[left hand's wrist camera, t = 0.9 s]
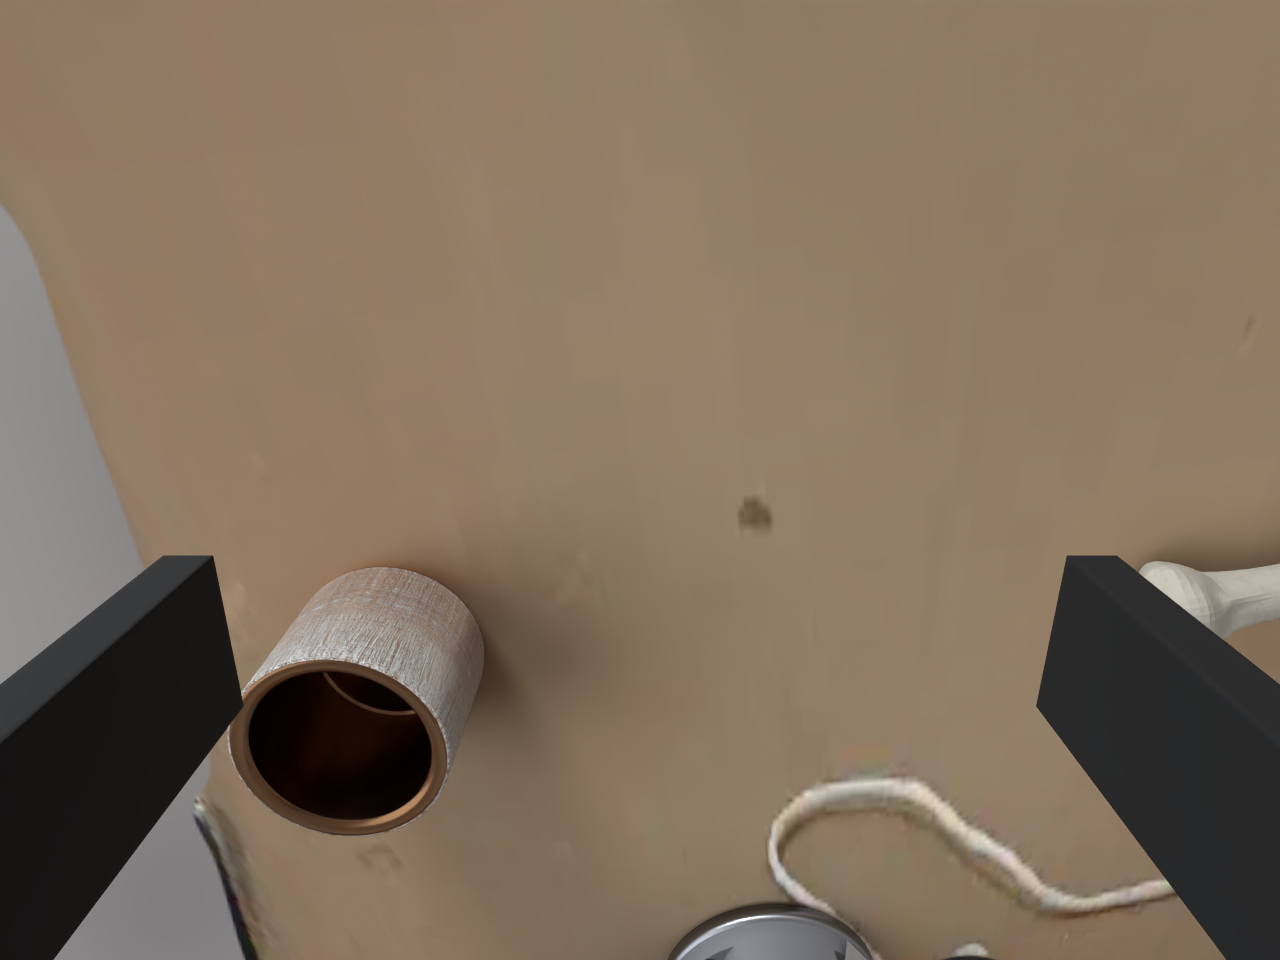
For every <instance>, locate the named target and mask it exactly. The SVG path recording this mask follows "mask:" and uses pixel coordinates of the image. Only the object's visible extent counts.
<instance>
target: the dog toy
mask: <svg viewBox="0 0 1280 960" xmlns="http://www.w3.org/2000/svg"><path fill="white" fill-rule="evenodd" d="M1139 574H1141V575H1142V576H1143V577H1144V578H1146V579H1147V580H1148V581H1149V582H1151V583H1152V584H1153V585H1154V586H1156V587H1157V588H1158V589H1160V590H1161V591H1162V592H1163V593H1165V594H1166V595H1167V596H1168V597H1170V598H1171V599H1172V600H1173V601H1175V602H1176V603H1177V604H1178V605H1180V606H1181V607H1182V608H1184V609H1185V610H1186V611H1187V612H1189V613H1190V614H1191V615H1192V616H1194V617H1195V618H1196V619H1197V620H1199V621H1200V622H1201V623H1202V624H1204V625H1205V626H1206V627H1208V628H1209V629H1210V630H1211V631H1213V632H1214V633H1215V634H1216V635H1218V636H1219V637H1220V638H1221V639H1226V638H1228V637H1230V636H1231V635H1232V634H1233V633H1234V632H1235V631H1237V630H1239V629H1242V628H1244V627H1247V626H1250V625H1253V624H1257V623H1261V622H1265V621H1269V620H1274V619H1279V618H1280V564H1275V565H1269V566H1264V567H1258V568H1252V569H1244V570H1233V571H1219V572H1200V571H1197V570H1194V569H1192V568H1189V567H1186V566H1183V565H1180V564H1175V563H1170V562H1161V561H1155V562H1149V563H1146V564H1145V565H1144V566H1143V567H1142V568H1141V570H1140V571H1139Z"/></svg>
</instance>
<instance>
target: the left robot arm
mask: <svg viewBox="0 0 1280 960" xmlns="http://www.w3.org/2000/svg"><path fill="white" fill-rule="evenodd" d="M243 707H244V705H243V700H242V695H241V690H240V685H239V680H238V675H237V670H236V666H235V661H234V656H233V651H232V646H231V641H230V636H229V631H228V626H227V621H226V616H225V612H224V607H223V602H222V597H221V592H220V587H219V582H218V577H217V572H216V567H215V562H214V558H213V556H162V557H161V558H160V559H158V560H157V561H156V562H155V563H153V564H152V565H151V566H150V567H148V568H147V569H146V570H144V571H143V572H142V573H141V574H139V575H138V576H137V577H136V578H134V579H133V580H132V581H131V582H129V583H128V584H127V585H126V586H124V587H123V588H122V589H120V590H119V591H118V592H117V593H115V594H114V595H113V596H112V597H110V598H109V599H108V600H107V601H105V602H104V603H103V604H102V605H100V606H99V607H98V608H96V609H95V610H94V611H93V612H91V613H90V614H89V615H88V616H86V617H85V618H84V619H83V620H81V621H80V622H79V623H78V624H76V625H75V626H74V627H72V628H71V629H70V630H69V631H67V632H66V633H65V634H64V635H62V636H61V637H60V638H59V639H57V640H56V641H55V642H54V643H52V644H51V645H50V646H48V647H47V648H46V649H45V650H43V651H42V652H41V653H40V654H38V655H37V656H36V657H35V658H33V659H32V660H31V661H29V662H28V663H27V664H26V665H24V666H23V667H22V668H21V669H19V670H18V671H17V672H16V673H14V674H13V675H12V676H11V677H9V678H8V679H7V680H6V681H4V682H3V683H2V684H0V960H54V958H55V957H56V956H57V954H58V953H59V952H60V950H61V949H62V948H63V946H64V945H65V944H66V942H67V941H68V940H69V938H70V937H71V936H72V934H73V933H74V932H75V930H76V929H77V928H78V926H79V925H80V924H81V922H82V921H83V920H84V918H85V917H86V916H87V914H88V913H89V912H90V910H91V909H92V908H93V906H94V905H95V904H96V902H97V901H98V900H99V898H100V897H101V896H102V894H103V893H104V892H105V890H106V889H107V888H108V886H109V885H110V884H111V882H112V881H113V880H114V878H115V877H116V876H117V874H118V873H119V872H120V870H121V869H122V868H123V866H124V865H125V864H126V862H127V861H128V860H129V858H130V857H131V856H132V854H133V853H134V852H135V850H136V849H137V848H138V846H139V845H140V844H141V842H142V841H143V840H144V838H145V837H146V836H147V834H148V833H149V832H150V830H151V829H152V828H153V826H154V825H155V824H156V822H157V821H158V820H159V818H160V817H161V816H162V814H163V813H164V812H165V810H166V809H167V808H168V806H169V805H170V804H171V802H172V801H173V800H174V798H175V797H176V796H177V794H178V793H179V792H180V790H181V789H182V788H183V786H184V785H185V784H186V782H187V781H188V780H189V778H190V777H191V776H192V774H193V773H194V772H195V770H196V769H197V768H198V766H199V765H200V764H201V762H202V761H203V760H204V758H205V757H206V756H207V754H208V753H209V752H210V751H211V749H212V748H213V747H214V745H215V744H216V743H217V741H218V740H219V739H220V737H221V736H222V735H223V733H224V732H225V731H226V729H227V728H228V727H229V725H230V724H231V723H232V721H233V720H234V719H235V717H236V716H237V715H238V713H239V712H240V711H241V709H242V708H243ZM1036 707H1037V708H1038V709H1039V711H1040V712H1041V713H1042V715H1043V716H1044V717H1045V719H1046V720H1047V721H1048V723H1049V724H1050V725H1051V727H1052V728H1053V729H1054V731H1055V732H1056V733H1057V735H1058V736H1059V737H1060V739H1061V740H1062V741H1063V743H1064V744H1065V745H1066V747H1067V748H1068V749H1069V751H1070V752H1071V753H1072V754H1073V756H1074V757H1075V758H1076V760H1077V761H1078V762H1079V764H1080V765H1081V766H1082V768H1083V769H1084V770H1085V772H1086V773H1087V774H1088V776H1089V777H1090V778H1091V780H1092V781H1093V782H1094V784H1095V785H1096V786H1097V788H1098V789H1099V790H1100V792H1101V793H1102V794H1103V796H1104V797H1105V798H1106V800H1107V801H1108V802H1109V804H1110V805H1111V806H1112V808H1113V809H1114V810H1115V812H1116V813H1117V814H1118V816H1119V817H1120V818H1121V820H1122V821H1123V822H1124V824H1125V825H1126V826H1127V828H1128V829H1129V830H1130V832H1131V833H1132V834H1133V836H1134V837H1135V838H1136V840H1137V841H1138V842H1139V844H1140V845H1141V846H1142V848H1143V849H1144V850H1145V852H1146V853H1147V854H1148V856H1149V857H1150V858H1151V860H1152V861H1153V862H1154V864H1155V865H1156V866H1157V868H1158V869H1159V870H1160V872H1161V873H1162V874H1163V876H1164V877H1165V878H1166V880H1167V881H1168V882H1169V884H1170V885H1171V886H1172V888H1173V889H1174V890H1175V892H1176V893H1177V894H1178V896H1179V897H1180V898H1181V900H1182V901H1183V902H1184V904H1185V905H1186V906H1187V908H1188V909H1189V910H1190V912H1191V913H1192V914H1193V916H1194V917H1195V918H1196V920H1197V921H1198V922H1199V924H1200V925H1201V926H1202V928H1203V929H1204V930H1205V932H1206V933H1207V934H1208V936H1209V937H1210V938H1211V940H1212V941H1213V942H1214V944H1215V945H1216V946H1217V948H1218V949H1219V950H1220V952H1221V953H1222V954H1223V956H1224V957H1225V958H1226V960H1280V684H1278V683H1277V682H1276V681H1275V680H1273V679H1272V678H1271V677H1269V676H1268V675H1267V674H1266V673H1264V672H1263V671H1262V670H1261V669H1259V668H1258V667H1257V666H1256V665H1254V664H1253V663H1252V662H1251V661H1249V660H1248V659H1247V658H1245V657H1244V656H1243V655H1242V654H1240V653H1239V652H1238V651H1237V650H1235V649H1234V648H1233V647H1232V646H1230V645H1229V644H1228V643H1227V642H1225V641H1224V640H1223V639H1221V638H1220V637H1219V636H1218V635H1216V634H1215V633H1214V632H1213V631H1211V630H1210V629H1209V628H1208V627H1206V626H1205V625H1204V624H1202V623H1201V622H1200V621H1199V620H1197V619H1196V618H1195V617H1194V616H1192V615H1191V614H1190V613H1189V612H1187V611H1186V610H1185V609H1184V608H1182V607H1181V606H1180V605H1178V604H1177V603H1176V602H1175V601H1173V600H1172V599H1171V598H1170V597H1168V596H1167V595H1166V594H1165V593H1163V592H1162V591H1161V590H1160V589H1158V588H1157V587H1156V586H1154V585H1153V584H1152V583H1151V582H1149V581H1148V580H1147V579H1146V578H1144V577H1143V576H1142V575H1141V574H1139V573H1138V572H1137V571H1136V570H1134V569H1133V568H1132V567H1130V566H1129V565H1128V564H1127V563H1125V562H1124V561H1123V560H1122V559H1120V558H1119V557H1118V556H1067V558H1066V562H1065V567H1064V572H1063V577H1062V582H1061V587H1060V592H1059V597H1058V602H1057V607H1056V612H1055V616H1054V621H1053V626H1052V631H1051V636H1050V641H1049V646H1048V651H1047V656H1046V661H1045V666H1044V670H1043V675H1042V680H1041V685H1040V690H1039V695H1038V700H1037V705H1036ZM668 960H873V959H872V956H871V954H870V952H869V950H868V948H867V947H866V945H865V943H864V942H863V941H862V940H861V938H860V937H859V936H858V935H857V934H856V933H855V932H854V931H853V930H852V929H850V928H849V927H848V926H846V925H845V924H843V923H842V922H840V921H839V920H837V919H835V918H833V917H831V916H829V915H826V914H824V913H822V912H819V911H815V910H812V909H808V908H804V907H799V906H792V905H757V906H750V907H744V908H740V909H736V910H732V911H729V912H726V913H723V914H721V915H718V916H716V917H714V918H712V919H710V920H707V921H706V922H704V923H702V924H701V925H699V926H697V927H696V928H695V929H693V930H692V931H691V932H689V933H688V934H687V935H686V936H685V937H684V938H683V939H682V940H681V941H680V942H679V943H678V944H677V945H676V947H675V948H674V949H673V951H672V952H671V954H670V956H669V957H668Z"/></svg>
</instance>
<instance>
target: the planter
mask: <svg viewBox="0 0 1280 960" xmlns="http://www.w3.org/2000/svg"><path fill="white" fill-rule="evenodd" d="M483 667H484V643H483V638H482V635H481V631H480V629H479V626H478V624H477V622H476V620H475V618H474V616H473V615H472V613H471V612H470V610H469V609H468V607H467V606H466V605H465V604H464V603H463V601H462V600H461V599H460V598H459V597H458V596H457V595H456V594H454V593H453V592H452V591H451V590H449V589H448V588H447V587H445V586H444V585H442V584H441V583H439V582H438V581H436V580H434V579H432V578H430V577H428V576H425V575H423V574H420V573H417V572H414V571H411V570H407V569H402V568H395V567H369V568H363V569H358V570H354V571H351V572H348V573H346V574H343V575H341V576H339V577H337V578H335V579H334V580H332V581H330V582H329V583H328V584H326V585H325V586H324V587H323V588H321V589H320V590H319V591H318V592H317V593H316V594H315V595H314V596H313V597H312V598H311V599H310V600H309V602H308V603H307V604H306V605H305V607H304V608H303V609H302V611H301V612H300V614H299V615H298V616H297V618H296V619H295V620H294V622H293V623H292V624H291V626H290V627H289V629H288V630H287V631H286V633H285V634H284V636H283V637H282V638H281V640H280V641H279V643H278V644H277V645H276V647H275V648H274V649H273V651H272V652H271V654H270V655H269V656H268V658H267V659H266V660H265V662H264V663H263V664H262V666H261V667H260V668H259V670H258V671H257V672H256V674H255V675H254V676H253V678H252V679H251V680H250V682H249V683H248V684H247V686H246V687H245V688H244V690H243V691H242V692H241V695H242V700H243V705H244V707H243V708H242V709H241V711H240V712H239V713H238V715H237V716H236V717H235V719H234V720H233V721H232V723H231V724H230V725H229V727H228V731H227V738H228V748H229V752H230V756H231V759H232V762H233V764H234V767H235V769H236V771H237V773H238V775H239V776H240V778H241V780H242V781H243V783H244V784H245V785H246V787H247V788H248V789H249V790H250V792H251V793H252V794H253V795H254V796H255V797H256V798H257V799H258V800H259V801H260V802H261V803H263V804H264V805H265V806H266V807H267V808H269V809H270V810H271V811H273V812H274V813H276V814H277V815H279V816H281V817H282V818H284V819H286V820H288V821H290V822H292V823H294V824H296V825H298V826H301V827H303V828H306V829H309V830H312V831H316V832H320V833H324V834H329V835H336V836H347V837H360V836H371V835H377V834H382V833H386V832H390V831H393V830H396V829H398V828H401V827H403V826H405V825H407V824H409V823H411V822H412V821H414V820H416V819H417V818H419V817H420V816H421V815H423V814H424V813H425V812H426V811H427V810H428V809H429V808H430V807H431V806H432V805H433V804H434V803H435V801H436V800H437V799H438V797H439V796H440V794H441V792H442V790H443V788H444V786H445V784H446V781H447V779H448V776H449V773H450V770H451V767H452V764H453V760H454V757H455V754H456V751H457V748H458V745H459V742H460V739H461V736H462V733H463V730H464V728H465V725H466V722H467V719H468V716H469V713H470V710H471V707H472V705H473V702H474V699H475V696H476V693H477V690H478V687H479V684H480V681H481V677H482V673H483Z"/></svg>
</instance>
